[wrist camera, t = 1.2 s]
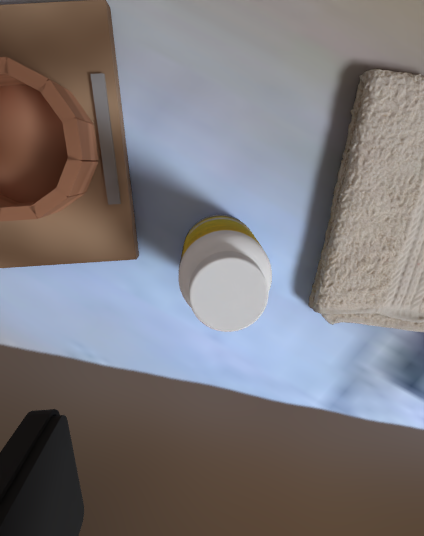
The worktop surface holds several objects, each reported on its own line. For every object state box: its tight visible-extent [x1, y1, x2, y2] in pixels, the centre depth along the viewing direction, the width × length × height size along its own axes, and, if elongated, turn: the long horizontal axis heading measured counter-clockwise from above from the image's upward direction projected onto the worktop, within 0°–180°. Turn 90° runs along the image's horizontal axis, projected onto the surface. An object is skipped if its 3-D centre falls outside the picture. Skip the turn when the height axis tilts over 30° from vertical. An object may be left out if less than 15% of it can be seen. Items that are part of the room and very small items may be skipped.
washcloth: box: [309, 69, 424, 332], centre depth 26 cm, size 12×18×3 cm, turn 173°
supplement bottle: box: [179, 215, 272, 332], centre depth 23 cm, size 5×5×10 cm
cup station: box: [0, 0, 139, 268], centre depth 23 cm, size 16×12×5 cm
